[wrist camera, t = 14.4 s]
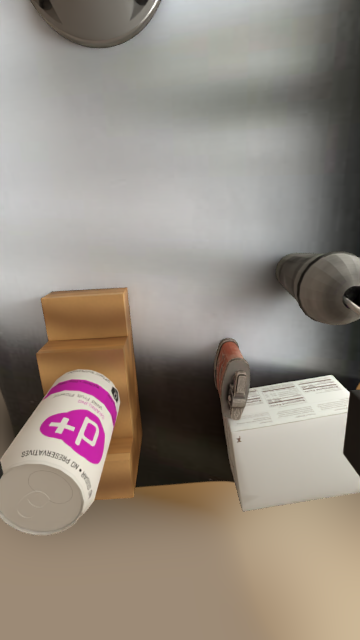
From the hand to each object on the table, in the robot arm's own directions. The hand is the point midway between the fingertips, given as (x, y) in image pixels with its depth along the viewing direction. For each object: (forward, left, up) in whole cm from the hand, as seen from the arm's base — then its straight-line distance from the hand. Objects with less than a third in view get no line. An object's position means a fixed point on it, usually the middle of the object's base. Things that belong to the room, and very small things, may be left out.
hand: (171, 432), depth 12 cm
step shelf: (+13, -11, -33) cm, 37 cm away
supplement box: (+23, +15, -33) cm, 43 cm away
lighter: (+13, +7, -33) cm, 36 cm away
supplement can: (+13, -11, -25) cm, 30 cm away
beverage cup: (0, +16, -33) cm, 37 cm away
